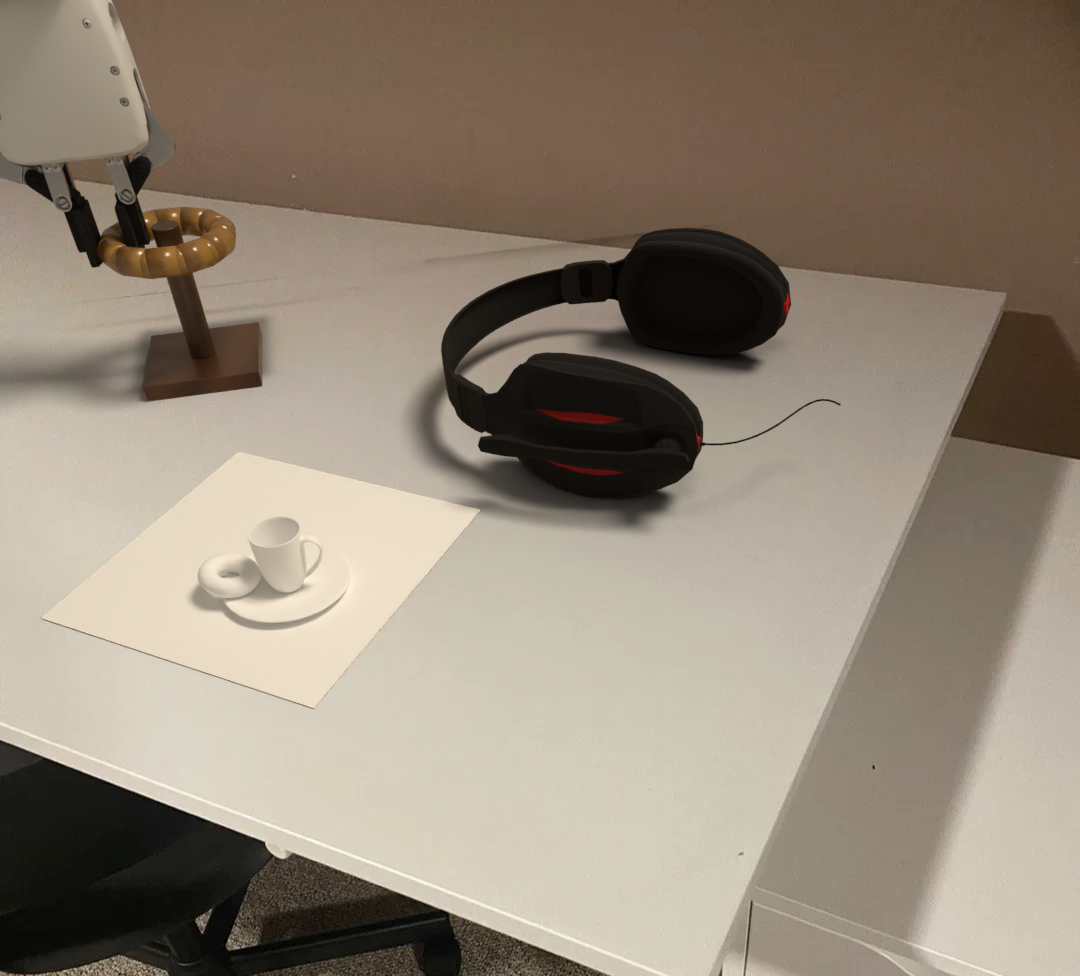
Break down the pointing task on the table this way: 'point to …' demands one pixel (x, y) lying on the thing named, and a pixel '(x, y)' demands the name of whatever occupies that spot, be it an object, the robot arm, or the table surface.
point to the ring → (171, 259)
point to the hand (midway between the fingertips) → (118, 255)
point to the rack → (198, 343)
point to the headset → (611, 386)
